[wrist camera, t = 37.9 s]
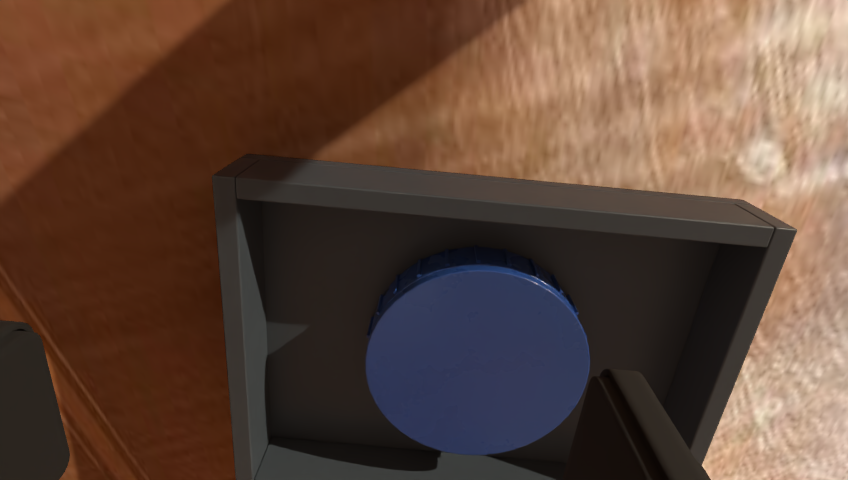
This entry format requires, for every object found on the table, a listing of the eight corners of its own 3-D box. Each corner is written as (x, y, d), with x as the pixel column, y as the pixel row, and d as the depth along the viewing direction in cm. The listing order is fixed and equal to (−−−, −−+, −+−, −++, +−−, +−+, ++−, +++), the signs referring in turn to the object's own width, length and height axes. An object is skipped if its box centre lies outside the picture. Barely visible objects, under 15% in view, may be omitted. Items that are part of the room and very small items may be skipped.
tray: (260, 437, 19) (236, 492, 17) (246, 153, 15) (211, 175, 13) (648, 471, 20) (676, 529, 17) (744, 199, 15) (798, 229, 13)
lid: (362, 409, 18) (355, 444, 16) (378, 232, 15) (372, 254, 14) (552, 430, 18) (563, 467, 17) (600, 258, 16) (619, 284, 14)
